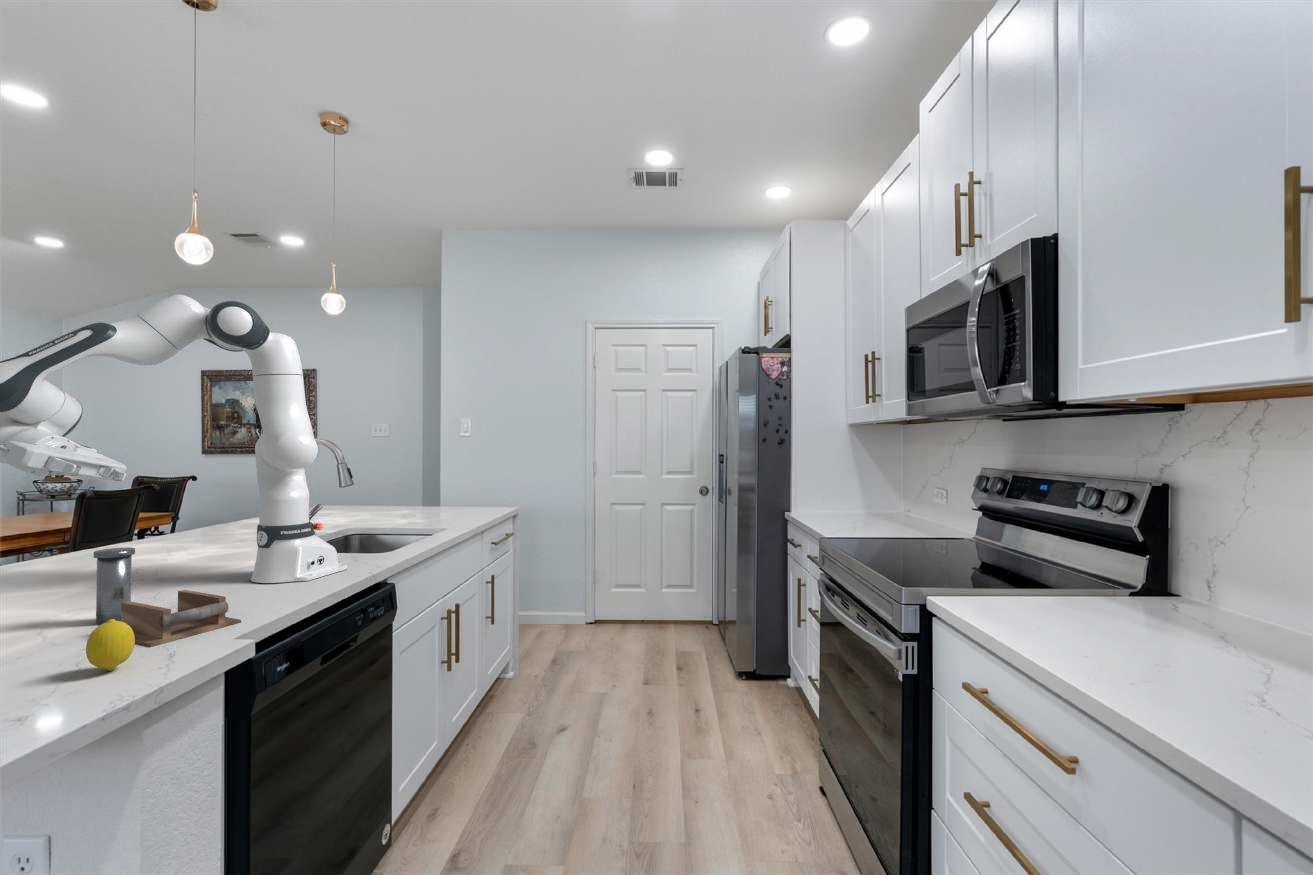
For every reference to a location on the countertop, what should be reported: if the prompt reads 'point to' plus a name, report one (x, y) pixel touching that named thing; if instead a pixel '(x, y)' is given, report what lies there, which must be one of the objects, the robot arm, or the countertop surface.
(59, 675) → the countertop surface
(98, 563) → the hinge pin
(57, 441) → the robot arm
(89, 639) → the lemon
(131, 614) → the brown wooden holder
